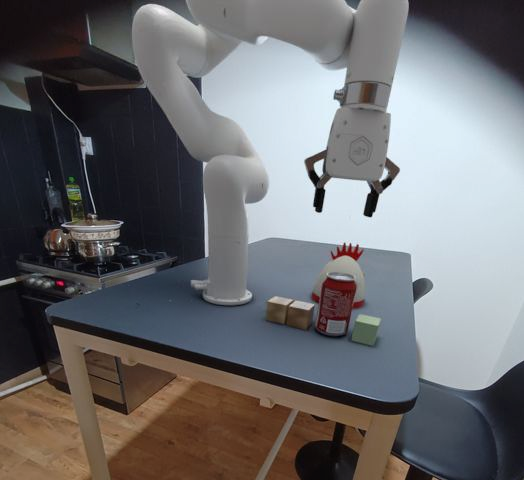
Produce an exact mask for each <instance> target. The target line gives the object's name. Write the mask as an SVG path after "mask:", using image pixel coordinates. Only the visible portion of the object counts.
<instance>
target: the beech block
mask: <svg viewBox="0 0 524 480" xmlns="http://www.w3.org/2000/svg"><path fill="white" fill-rule="evenodd" d="M315 306H316V304H315V303H311V302H306V301H300V300H298V299H297V300H294V301H293V303H292V304H291V305H290V306H289V310H288V319H287V322H286V326H288V327H289V326H290V327H293V328H298V329H301V330H308V328H309V327H310V326H311V325H312V324H313V319H314V313H315Z"/></svg>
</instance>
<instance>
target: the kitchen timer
mask: <svg viewBox="0 0 524 480" xmlns="http://www.w3.org/2000/svg"><path fill="white" fill-rule="evenodd" d="M348 244H349V245H348V248H347V243H346V242H345V241H344V242H343V244H342V247H341V250H340V247H339V246H336V255H335V254H334V252H333V251H332V250H330V255H331V258H332V259H331V260H330V261H328V262H327V264H326V265H325V266H324V267H323V268H322V269H321V271H320V273H319V274H318V277H317V278H316V280H315V282H314V285H313V288H312V295H311V297H312V300H314V302H316V303H318V304H319V300H320V294H321V287H322V282H323V281H324V280H325V279H326V277H327V273H330V272H341V273H347V274H351V275H353V276H355V280H354V281H355V283H356V286H357V289H356V294H355V298H354V303H353V308H352V309H357V308H360V307H362V306H363V305H364V303H365V296H366V285H365V284H366V283H365V276H366V274H365V273H364V272H363V270H362V268H361V266H360V265H359V263H358V260H359V259H360V257H361V256H362V255H363V252H364V249H363V248H362V249H361V250H360V251H359V248H360V247H359V246H360V245H359V243H357V244H356V245H355V247H354V249H353V246H352V242H349V243H348Z"/></svg>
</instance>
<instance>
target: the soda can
mask: <svg viewBox="0 0 524 480" xmlns="http://www.w3.org/2000/svg"><path fill="white" fill-rule="evenodd" d="M354 280H355V276H353V275H351V274H347V273H341V272H330V273H327V277H326V279H325V280H324V281H323V282H322V287H321V294H320V300H319V303H318V307H317V308H318V309H317V313H316V319H315V325H314V326H315V329H316V330H317V331H318V332H319V333H320V334H322V335H325V336H328V337H340V336H344V335H346V334H347V333H348V332H349V326H350V321H351V317H352V312H353V309H354V308H353V303H354V298H355V294H356V289H357V286H356V283H355V281H354Z"/></svg>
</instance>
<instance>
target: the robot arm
mask: <svg viewBox="0 0 524 480" xmlns="http://www.w3.org/2000/svg"><path fill="white" fill-rule="evenodd" d="M185 4H186V6H187V9H188V11H189V13H190V14H191V16H192V17H193V19H194V20H195V22H197V23H198V25H196V24H194V23H192V22H191V21H189V20H187V19H186V18H184V17H183V16H182V15H179V14H178V13H176V12H175V11H173V10H172V9H170V8H168V7H165V6H163V5H160V4H156V3H148V4H145V5H142V6H141V7H139V8H138V9H137V10H136V13H135V14H134V16H133V20H132V25H131V45H132V49H133V50H132V52H133V56H134V60H135V63H136V66H137V69H138V72H139V75H140V76H141V79H142V80H143V83H144V85H145V86H146V87H147V89H148V91H149V92H150V94H151V95H152V96H153V99H155V101H156V102H157V104H158V105H159V106H160V107H159V108H161V110H162V111H163V113H164V115H165V116H166V118H167V120H168V122H169V123H170V124H171V126H172V128H173V130H174V131H175V133H176V135H177V136H178V137H179V139H180V141H181V143H182V144H183V146H184V148H185V149H186V150H187V152H188V154H189V155H190V156H191V157H192V158H193V159H195V160H196V161H199V162H202V163H206V164H205V166H204V169H203V172H202V187H203V194H204V198H205V204H206V212H207V213H206V215H207V238H208V239H207V243H208V244H207V245H208V246H207V248H208V249H207V252H208V255H207V257H208V276H207V279H203V280H198V279H191V280H190V287H191V288H192V289H193V288H194V290H195V291H202V299H204V300H205V302H208V303H211V304H214V305H218V306H239V305H244V304H248V303H250V302H251V301H252V299H253V294H252V292H251V291H249V290H248V289H247V283H248V279H247V278H248V257H249V237H250V236H249V235H250V224H249V216H248V212H247V208H246V205H248V204H250V205H251V204H256V203H259V202H261V201H263V199H265V197H266V196H267V194H268V192H269V189H270V176H269V175H270V174H269V171H268V170H267V167H266V165H265V164H264V162H263V160H262V159H261V157H260V155H259V153H258V151H257V150H256V148H255V147H254V145H253V144H252V141H250V138H249V137H248V135H247V133H246V132H245V131H244V129H243V128H242V127H241V126H240V124H238V122H236V121H235V120H233V119H232V118H229V117H226V116H223V115H221V114H218V113H216V112H214V111H213V110H211V108H210V107H209V106H208V104H207V103H206V102H205V100H204V98H203V97H202V96H201V94H200V92H199V90H198V89H197V87H196V85H195V84H194V83H193V82H192V81H191V79H190V78H189V77H192V78H197V79H198V78H203V77H205V76H207V75H209V74H210V73H211V72H212V71H213V70H215V69H216V68H217V67H218V66H219V65H220V64H221V63H222V62H223V61H225V60H226V59H227V58H228V57H229V56H230V55H232V54H233V53H234V52H235V51H236V50H237V49H238V48H239V47H240V46H241V45H242V44H243V42H244V43H247V44H250V45H253V46H261V45H263V44H264V43H265V42H266V41H267V39H268V38H272V39H275V40H278V41H281V42H284V43H286V44H289V45H292V46H295V47H297V48H300V49H301V50H303V51H304V52H305V53H307V54H308V55H309V57H311V58H312V59H313V60H314V61H315V62H316V63H317V64H318V65H319V66H321V68H323V69H325V70H328V71H332V72H333V71H335V72H336V71H341V70H344V69H346V71H345V78H344V85H343V87H342V88H339V89H334V92H333V101H337V102H339V108H337V109H336V111H335V113H334V115H333V119H332V122H331V126H330V130H329V134H328V137H327V142H326V146H325V148H324V149H323V150H320V151H319V152H316V153H315V154H312V155H310V156H307V157H306V158H304V161H303V163H304V166H305V170H306V173H307V177H308V178H309V180H310V182H311V183H312V185H313V186H314V188H315V189H314V195H313V203H312V207H313V208H314V212H316V213H317V214H321V213H322V212H323V210H324V203H325V197H326V189H325V186H326V184H327V183H328V182H329V181H330V180H331V179H340V180H350V181H351V180H352V181H360V182H361V181H362V182H366V184H368V187H369V189H370V192H368V193H367V194H366V199H365V203H364V204H365V205H364V208H363V212H362V214H363V216H364V217H366V218H373V215H374V213H375V212H376V210H377V206H378V203H379V198H380V195H381V194H383V193H384V191H385V190H386V189H388V188H389V187H390V186H391V185H392V183H393V181H394V180H395V179H396V178H397V176H398V175H399V173H400V172H401V168H400V167H399V166H398V165H397V164H396V163H395V162H393V161H392V160H391V159H390V158H388V157H387V156H388V149H389V142H390V136H391V135H390V133H391V124H392V123H391V122H392V114H391V112H388V111H387V110H388V107H389V106H388V105H389V102H390V97H391V92H392V87H393V85H394V84H393V83H394V79H395V74H396V71H397V65H398V60H399V57H400V52H401V47H402V43H403V38H404V35H405V34H404V33H405V29H406V25H407V20H408V15H409V9H410V8H409V5H410V3H409V0H360V1H359V3H358V5H357V8H356V9H355V8H353V7H351V6H350V5H348V3H347V2H346V0H185ZM188 76H189V77H188ZM322 160H323V161H322ZM320 161H322V174H321V175H320V176H319V175H318V173H317V172H316V170H315V164H316V163H318V162H320ZM385 170H386V171H387V173H386V176H385V177H384V178H383V179H382V177H383V174H384V171H385ZM380 179H382V180H380Z"/></svg>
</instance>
